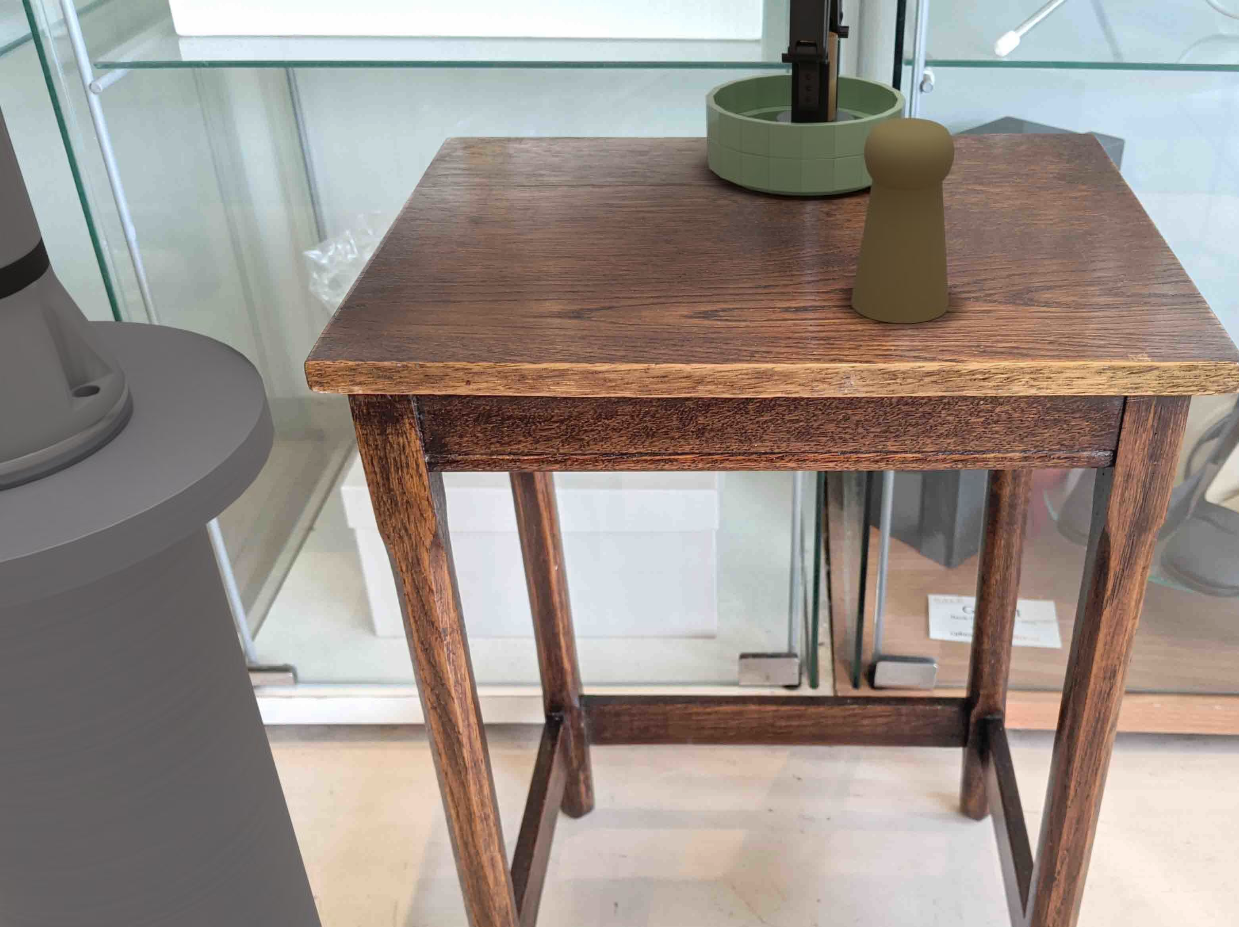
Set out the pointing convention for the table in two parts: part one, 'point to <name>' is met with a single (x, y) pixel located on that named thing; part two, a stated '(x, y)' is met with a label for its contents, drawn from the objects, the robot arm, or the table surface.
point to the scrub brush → (833, 113)
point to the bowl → (794, 135)
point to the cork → (904, 223)
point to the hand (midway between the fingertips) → (814, 139)
